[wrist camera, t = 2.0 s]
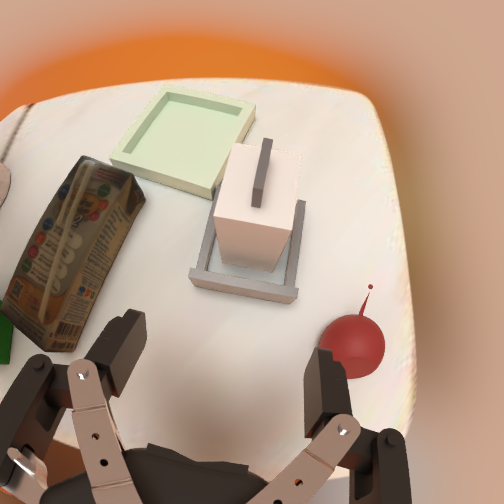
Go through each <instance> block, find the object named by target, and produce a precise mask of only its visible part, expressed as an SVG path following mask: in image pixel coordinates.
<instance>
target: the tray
mask: <svg viewBox="0 0 504 504" xmlns="http://www.w3.org/2000/svg"><path fill="white" fill-rule="evenodd" d="M255 108H256V105H255V104H251V103H248V102H244V101H240V100H236V99H232V98H228V97H224V96H219V95H215V94H210V93H206V92H201V91H196V90H191V89H185V88H180V87H174V86H168V85H163V86H162V88H161V89H160V90H159V91H158V92H157V94H156V95H155V96H154V97H153V98H152V100H151V101H150V102H149V103H148V105H147V106H146V107H145V108H144V110H143V111H142V112H141V114H140V115H139V116H138V117H137V119H136V120H135V121H134V123H133V124H132V125H131V127H130V128H129V129H128V131H127V132H126V134H125V135H124V136H123V138H122V139H121V141H120V142H119V144H118V145H117V146H116V148H115V149H114V151H113V152H112V154H111V155H110V157H109V159H110V161H111V162H112V164H113V166H114V167H117V168H120V169H123V170H125V171H128V172H130V173H132V174H133V175H135V176H138V177H142V178H145V179H148V180H151V181H154V182H157V183H160V184H164V185H167V186H170V187H173V188H176V189H179V190H182V191H185V192H188V193H191V194H194V195H197V196H200V197H203V198H206V199H209V200H213V198H214V196H215V192H216V189H217V185H220V184H221V182H222V180H223V177H224V174H225V170H226V167H227V163H228V160H229V156H230V152H231V149H232V146H233V143H240V144H241V143H242V141H243V139H244V137H245V135H246V133H247V132H248V130H249V128H250V126H251V124H252V122H253V120H254V119H255Z"/></svg>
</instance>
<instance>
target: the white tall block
mask: <svg viewBox="0 0 504 504" xmlns="http://www.w3.org/2000/svg"><path fill="white" fill-rule="evenodd" d="M272 143H273V139H268V138H264V139H263V143H262V147H258V146H252V145H246V144H240V143H233V146H232V149H231V152H230V156H229V160H228V163H227V167H226V170H225V174H224V177H223V181H222V185H221V188H220V192H219V196H218V200H217V203H216V207H215V211H214V215H213V217H214V223H215V228H216V233H217V239H218V244H219V249H220V254H221V260H222V263H226V264H231V265H236V266H241V267H246V268H252V269H257V270H262V271H268V272H273V270H274V268H275V266H276V264H277V262H278V260H279V257H280V255H281V253H282V251H283V249H284V247H285V245H286V242H287V240H288V238H289V236H290V234H291V232H292V227H293V220H294V213H295V205H296V198H297V190H298V183H299V175H300V167H301V159H302V155H300V154H295V153H290V152H285V151H280V150H275V149H272Z"/></svg>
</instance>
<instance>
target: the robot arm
mask: <svg viewBox="0 0 504 504" xmlns="http://www.w3.org/2000/svg"><path fill="white" fill-rule="evenodd" d="M9 185H10V172H9V170H8V169H7V168H6V167H5V166H4V165H3V164H2V163H1V162H0V206H1V204H2V203H3V201H4V199H5V197H6V195H7V192H8V189H9ZM146 340H147V331H146V320H145V313H144V312H141V311H137V310H133V309H128V310H127V312H126V313H125V314H124V316H123V317H119V316H117V317H115V318H114V319H112V320H111V321H109V322H108V324H107V325H106V327H105V328H104V331H102V332H101V334H100V336H99V337H98V338H97V340H96V341H95V343H94V344H93V346H92V347H91V349H90V350H89V352H88V353H87V355H86V356H85V358H84V359H79V360H76V361H74V362H73V363H71V364H70V365H60V364H52V361H51V359H50V358H49V357H48V356H46V355H43V354H37V355H34V356H32V357H30V358H29V359H28V361H27V362H26V364H25V365H24V367H23V368H22V370H21V371H20V373H19V374H18V376H17V377H16V379H15V381H14V382H13V384H12V385H11V387H10V389H9V390H8V392H7V394H6V395H5V397H4V399H3V400H2V402H1V404H0V490H2V491H4V492H5V493H7V494H10V495H12V496H13V497H15V498H17V499H20V500H21V501H23V502H25V503H26V504H306V503H307V502H308V501H309V500H310V499H311V497H312V496H313V495H314V494H315V493H316V492H317V491H318V490H319V488H320V487H321V486H322V485H323V484H324V483H325V482H326V480H327V479H328V478H329V477H330V475H331V474H332V473H333V472H334V470H335V469H334V468H335V467H336V466H340V467H343V468H347V469H349V470H350V490H349V491H350V493H349V495H350V496H349V504H412V498H411V488H410V478H409V469H408V461H407V454H406V447H405V440H404V437H403V436H402V434H401V433H400V432H399V431H397V430H395V429H392V428H387V429H384V430H382V431H381V432H380V433H378V432H375V431H371V430H368V429H365V428H363V427H361V426H360V424H359V422H358V421H357V420H356V419H355V418H354V417H353V415H352V409H351V402H350V395H349V389H348V383H347V376H346V370H345V369H344V367H343V365H342V364H341V362H340V361H333V354H332V350H331V349H323V348H315V349H314V351H313V353H312V355H311V358H310V360H309V362H308V364H307V367H306V369H305V373H304V429H305V438H312V442H311V443H310V444H309V445H308V447H307V448H306V449H304V450H303V451H302V452H301V453H300V454H299V455H298V456H297V457H296V458H295V459H294V460H293V461H292V462H291V463H290V464H289V465H288V466H287V467H286V468H285V469H284V470H283V471H282V472H281V473H280V474H279V475H278V476H277V477H276V478H275V479H274V480H273V481H271V482H270V483H269V484H268V482H266V481H265V480H264V479H263V478H261V477H260V476H258V475H256V474H254V473H252V472H249V471H248V466H249V465H242V464H235V463H229V462H196V461H193V460H191V459H189V458H187V457H185V456H183V455H181V454H179V453H177V452H175V451H173V450H171V449H167V448H163V447H160V446H157V445H153V444H150V443H148V445H147V448H134V449H129V450H125V447H124V445H123V442H122V440H121V437H120V435H119V432H118V429H117V426H116V423H115V420H114V417H113V414H112V411H111V407H110V404H109V400H110V398H111V396H112V395H113V396H115V397H118V398H119V397H120V395H121V393H122V391H123V389H124V387H125V385H126V383H127V381H128V379H129V377H130V375H131V373H132V371H133V369H134V367H135V365H136V363H137V361H138V359H139V357H140V355H141V353H142V351H143V349H144V347H145V344H146ZM66 408H71V409H73V411H72V418H73V423H74V427H75V432H76V436H77V440H78V444H79V447H80V451H81V454H82V458H83V461H84V465H85V468H86V470H85V471H83V472H81V473H79V474H77V475H74V476H72V477H70V478H68V479H66V480H63V481H61V482H59V483H57V484H55V485H52V486H50V487H49V488H48V487H47V484H46V478H47V469H46V466H45V465H44V463H43V459H44V457H45V455H46V452H47V450H48V447H49V445H50V443H51V441H52V439H53V436H54V434H55V432H56V430H57V427H58V425H59V423H60V421H61V419H62V417H63V415H64V412H65V410H66Z"/></svg>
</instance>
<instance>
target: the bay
mask: <svg viewBox="0 0 504 504" xmlns="http://www.w3.org/2000/svg"><path fill="white" fill-rule="evenodd" d="M220 188H221V185H217V189H216V192H215V196H214V200H213V203H212V207H211V211H210V215H209V218H208V222H207V226H206V230H205V234H204V238H203V242H202V246H201V250H200V254H199V258H198V262H197V266H196V269H194V268H190V271H189V275H188V277H189V279H190V280H191V281H192V283H193V284H194V285H195V286H197V287H202V288H207V289H212V290H217V291H222V292H227V293H232V294H237V295H242V296H247V297H253V298H258V299H263V300H269V301H274V302H280V303H286V304H290V303H291V302H292V301H294V300H295V299H296V298H297V296H298V289H299V288H294V285H295V279H296V272H297V265H298V258H299V251H300V243H301V236H302V228H303V220H304V212H305V204H306V201H303V200H298V201H297V204H296V207H295V214H294V222H293V229H292V235H291V242H290V249H289V256H288V262H287V269H286V275H285V281H284V286H282V285H277V284H271V283H266V282H261V281H255V280H250V279H245V278H240V277H234V276H229V275H224V274H219V273H214V272H209V271H207V267H208V263H209V259H210V255H211V250H212V246H213V242H214V238H215V234H216V228H215V223H214V217H213V215H214V211H215V207H216V203H217V200H218V196H219V192H220Z"/></svg>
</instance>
